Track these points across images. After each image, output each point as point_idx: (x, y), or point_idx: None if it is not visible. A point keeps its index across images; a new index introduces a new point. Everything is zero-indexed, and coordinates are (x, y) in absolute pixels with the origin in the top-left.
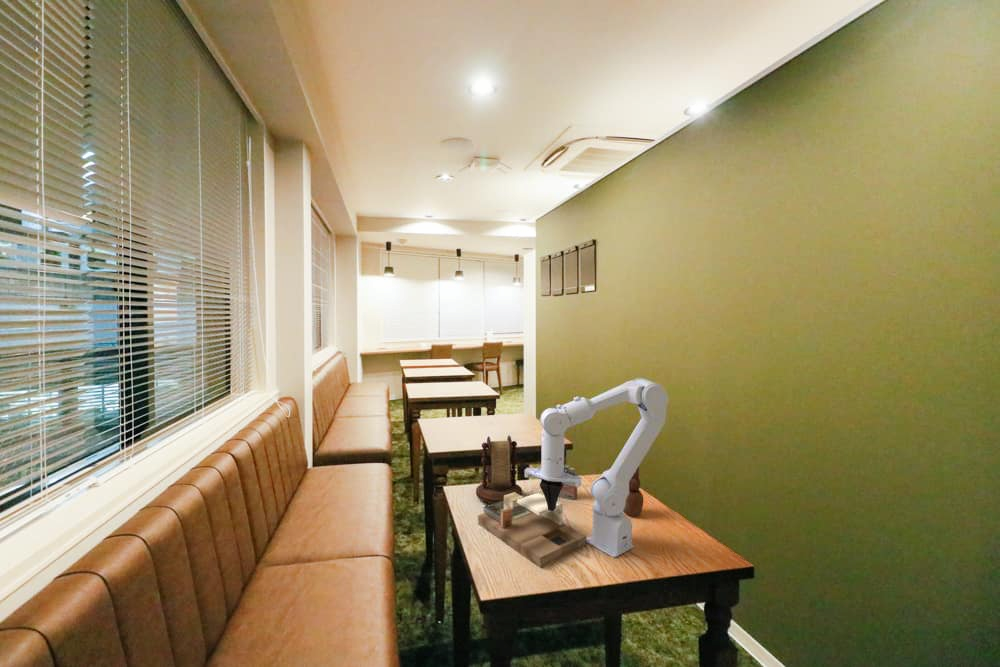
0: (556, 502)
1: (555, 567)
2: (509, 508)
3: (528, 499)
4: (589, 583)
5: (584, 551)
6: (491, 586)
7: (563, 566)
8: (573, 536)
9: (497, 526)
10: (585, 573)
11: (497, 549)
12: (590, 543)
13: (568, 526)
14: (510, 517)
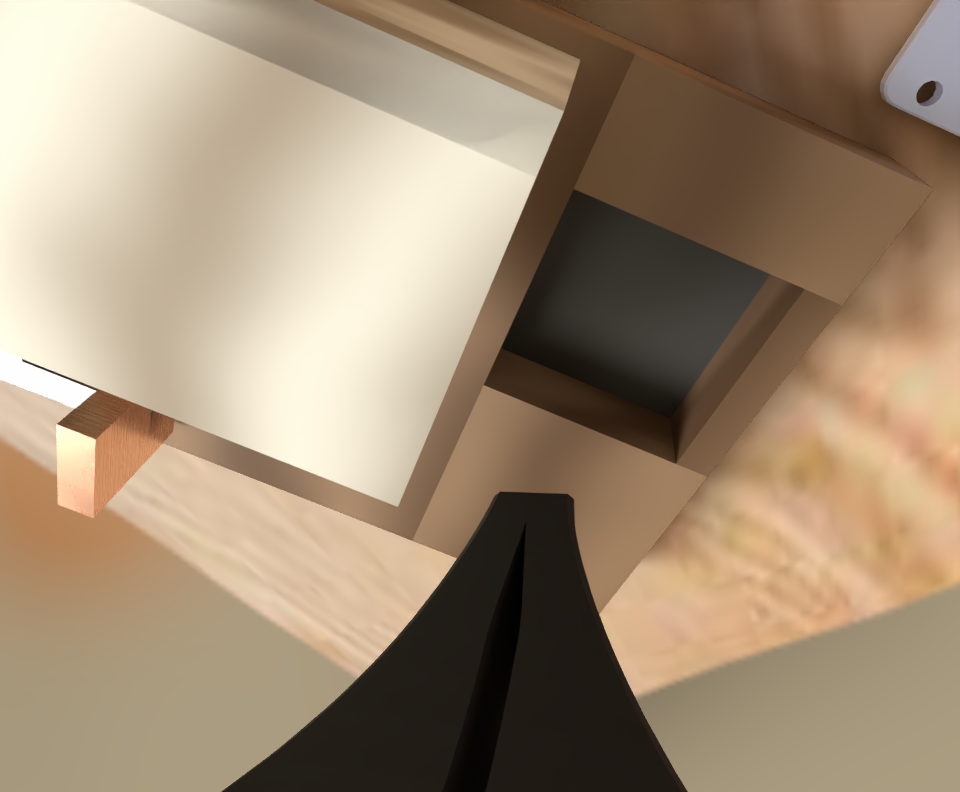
0: (577, 550)
1: (689, 526)
2: (60, 429)
3: (63, 259)
4: (942, 583)
5: (882, 267)
6: None
7: (739, 502)
8: (779, 269)
9: None
10: (909, 514)
11: (284, 499)
12: (951, 131)
13: (673, 81)
14: (141, 407)
